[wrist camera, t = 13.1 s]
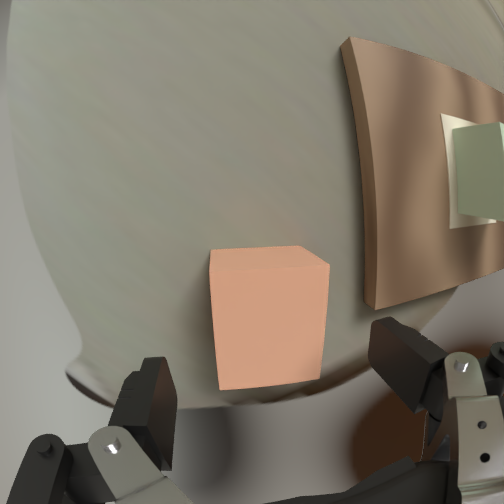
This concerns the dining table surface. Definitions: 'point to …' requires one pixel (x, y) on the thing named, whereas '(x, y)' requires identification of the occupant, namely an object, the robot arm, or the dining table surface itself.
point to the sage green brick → (480, 170)
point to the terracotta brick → (268, 315)
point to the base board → (417, 172)
